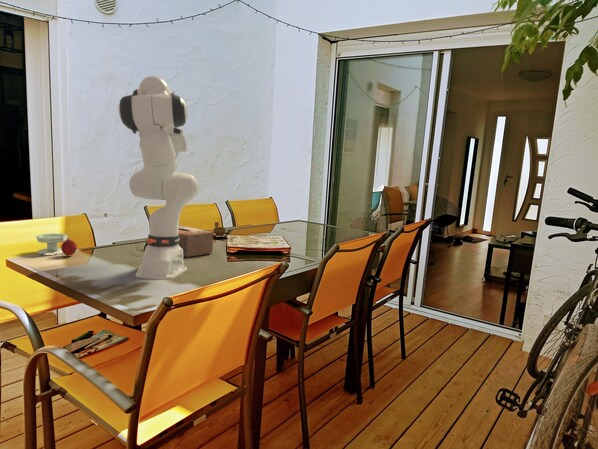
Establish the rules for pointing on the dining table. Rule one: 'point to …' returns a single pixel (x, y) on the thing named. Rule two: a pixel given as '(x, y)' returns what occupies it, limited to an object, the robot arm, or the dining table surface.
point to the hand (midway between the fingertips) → (163, 160)
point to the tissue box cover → (195, 241)
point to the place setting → (219, 230)
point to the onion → (69, 247)
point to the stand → (51, 242)
